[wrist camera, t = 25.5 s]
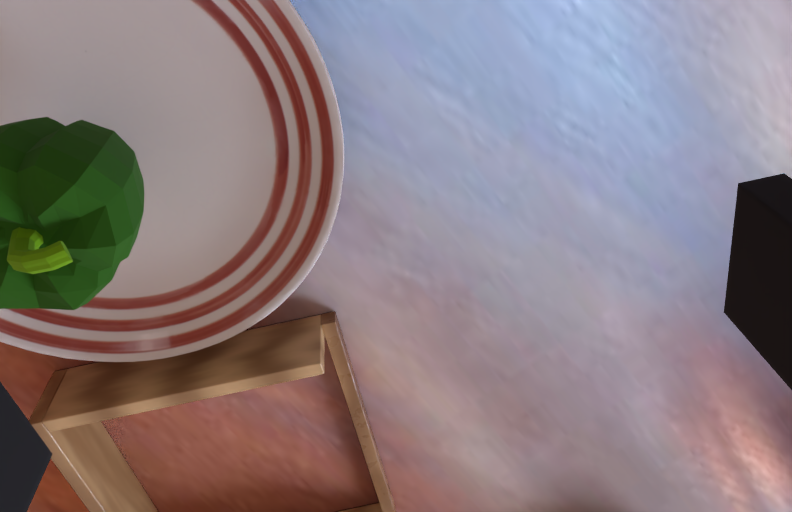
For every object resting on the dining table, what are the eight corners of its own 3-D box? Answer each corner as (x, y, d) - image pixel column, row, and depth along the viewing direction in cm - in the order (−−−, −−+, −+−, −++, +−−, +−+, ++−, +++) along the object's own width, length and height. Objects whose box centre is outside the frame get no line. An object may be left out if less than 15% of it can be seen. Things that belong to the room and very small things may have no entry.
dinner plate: (-249, -235, 27) (-316, -245, 24) (393, -60, 32) (399, -51, 30) (-139, 298, 40) (-174, 332, 37) (298, 354, 46) (297, 387, 43)
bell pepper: (8, 231, 35) (-92, 352, 27) (-21, 83, 31) (-150, 170, 22) (168, 243, 36) (122, 361, 28) (161, 102, 32) (105, 191, 24)
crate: (335, 311, 44) (336, 359, 40) (395, 506, 56) (401, 560, 52) (53, 371, 45) (25, 425, 40) (172, 552, 56) (160, 609, 52)
